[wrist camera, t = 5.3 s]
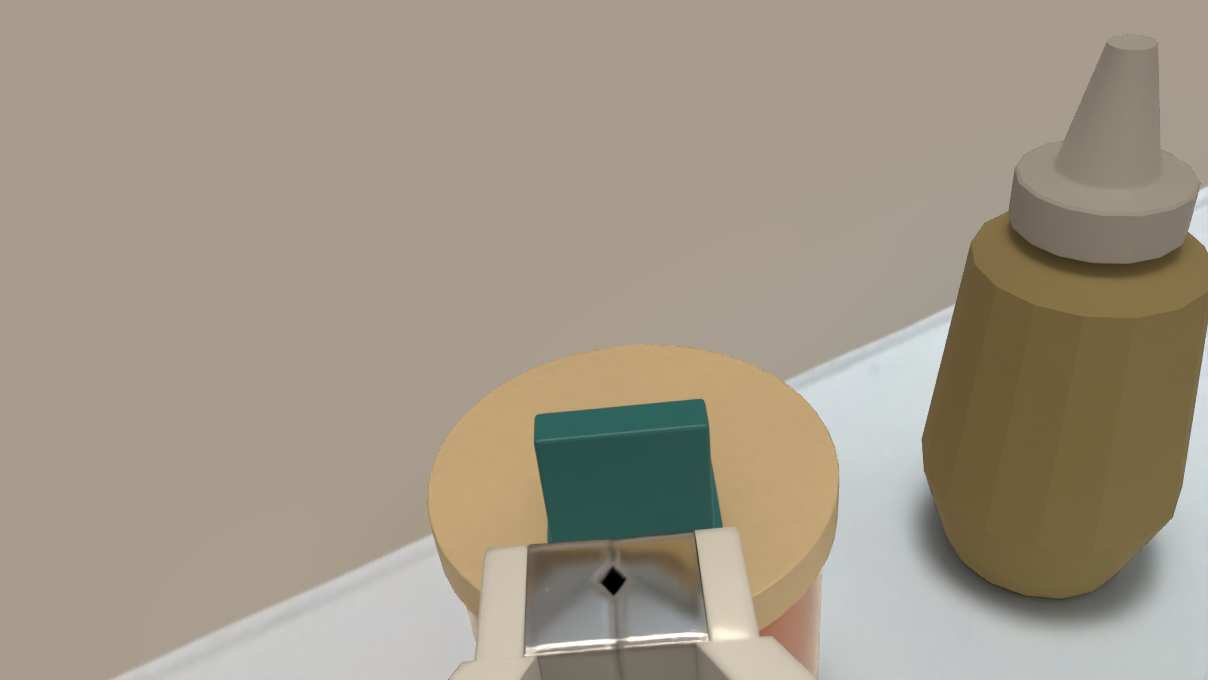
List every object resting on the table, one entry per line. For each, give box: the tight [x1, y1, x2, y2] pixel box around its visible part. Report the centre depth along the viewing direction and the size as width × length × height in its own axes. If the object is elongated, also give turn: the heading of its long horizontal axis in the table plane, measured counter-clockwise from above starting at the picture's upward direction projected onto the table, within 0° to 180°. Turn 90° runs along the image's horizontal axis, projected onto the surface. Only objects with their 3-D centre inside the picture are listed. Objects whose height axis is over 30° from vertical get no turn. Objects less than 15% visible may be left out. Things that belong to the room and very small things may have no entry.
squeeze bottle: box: [922, 34, 1208, 599], centre depth 31 cm, size 8×8×18 cm
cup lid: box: [427, 345, 839, 631], centre depth 24 cm, size 9×9×1 cm
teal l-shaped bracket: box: [534, 399, 723, 543], centre depth 20 cm, size 4×4×4 cm
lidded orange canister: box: [467, 569, 822, 679], centre depth 27 cm, size 9×9×11 cm
